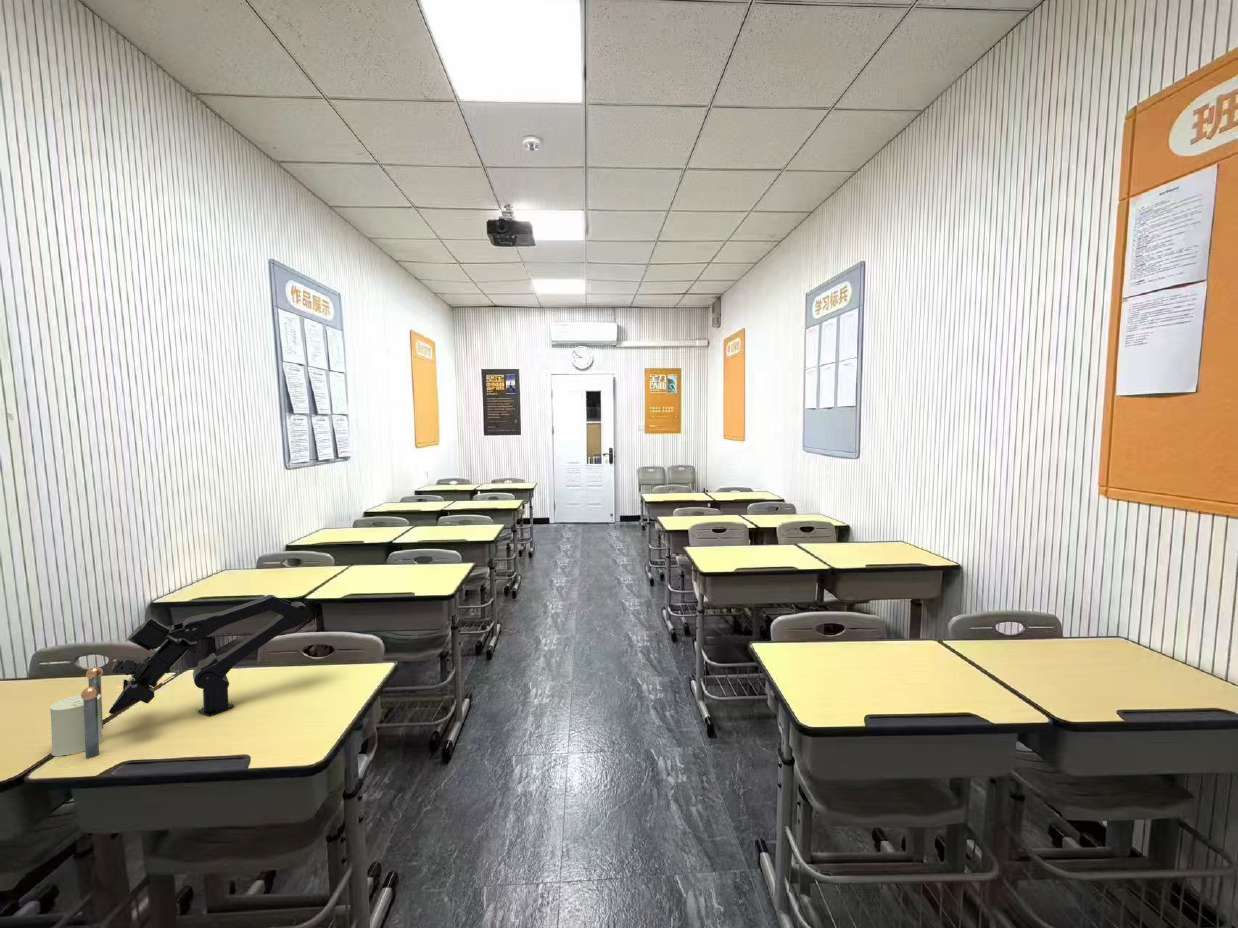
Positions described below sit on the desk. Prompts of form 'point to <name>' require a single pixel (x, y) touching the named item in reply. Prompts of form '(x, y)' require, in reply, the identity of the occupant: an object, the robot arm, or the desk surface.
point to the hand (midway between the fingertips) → (110, 713)
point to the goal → (92, 711)
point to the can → (70, 725)
